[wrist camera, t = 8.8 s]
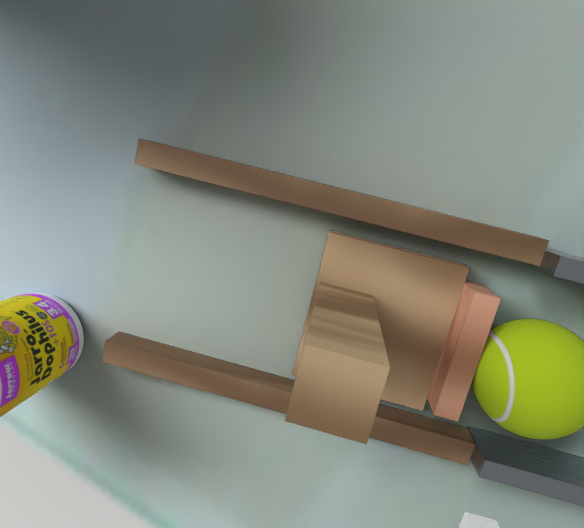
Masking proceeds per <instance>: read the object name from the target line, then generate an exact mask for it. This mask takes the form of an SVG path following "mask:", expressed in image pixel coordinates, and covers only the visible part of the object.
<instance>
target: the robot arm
mask: <svg viewBox="0 0 584 528" xmlns="http://www.w3.org/2000/svg"><path fill="white" fill-rule="evenodd" d="M459 528H500V527H499V525H498V523H497V520H493V519H490V518H486V517H482V516H479V515H475V514H472V513H468V512H464V515H463V518H462V520H461V523H460V526H459Z"/></svg>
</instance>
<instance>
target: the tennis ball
mask: <svg viewBox="0 0 584 528" xmlns="http://www.w3.org/2000/svg"><path fill="white" fill-rule="evenodd" d="M471 384H472V388H473V391H474V394H475V396H476V399H477V401H478V402H479V404H480V406H481V407H482V409H483V410H484V411H485V413H486V414H487V415H488V416H489V417H490V418H491V419H492V420H493V421H494V422H496V423H497V424H498V425H500V426H501V427H503V428H504V429H506V430H508V431H510V432H512V433H515V434H517V435H520V436H523V437H527V438H533V439H556V438H561V437H564V436H567V435H570V434H572V433H574V432H576V431H578V430H580V429H581V428H583V427H584V341H583V340H582V339H581V338H580V337H579V336H577V335H576V334H575V333H573V332H572V331H570V330H568V329H567V328H565V327H563V326H560V325H558V324H556V323H553V322H549V321H545V320H540V319H518V320H513V321H509V322H506V323H503V324H501V325H499V326H497V327H495V328H493V329H492V331H490V332H489V334H488V337H487V340H486V343H485V346H484V349H483V352H482V354H481V357H480V360H479V363H478V366H477V369H476V372H475V374H474V377H473V380H472V383H471Z"/></svg>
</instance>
